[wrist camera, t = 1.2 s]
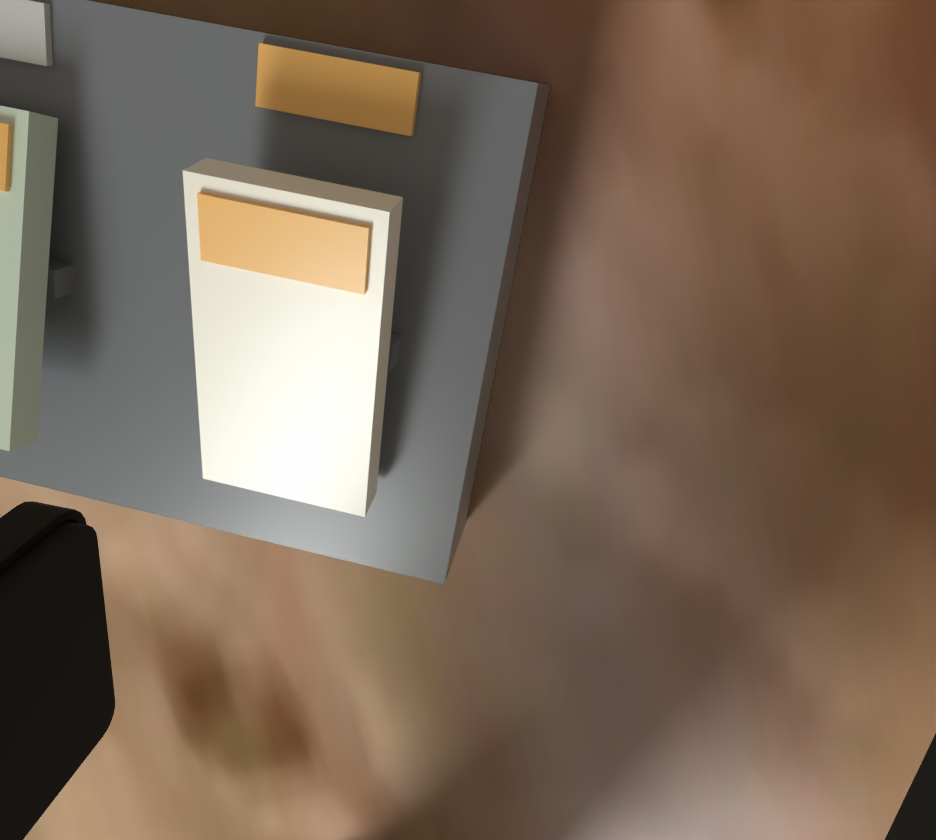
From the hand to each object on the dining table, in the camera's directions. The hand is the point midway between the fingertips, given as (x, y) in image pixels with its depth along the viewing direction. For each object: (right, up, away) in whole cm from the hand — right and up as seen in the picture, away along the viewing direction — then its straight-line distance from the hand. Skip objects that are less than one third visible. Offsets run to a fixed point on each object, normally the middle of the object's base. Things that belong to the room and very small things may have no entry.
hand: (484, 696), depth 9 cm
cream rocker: (-6, +6, +17) cm, 19 cm away
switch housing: (-10, +9, +24) cm, 28 cm away
